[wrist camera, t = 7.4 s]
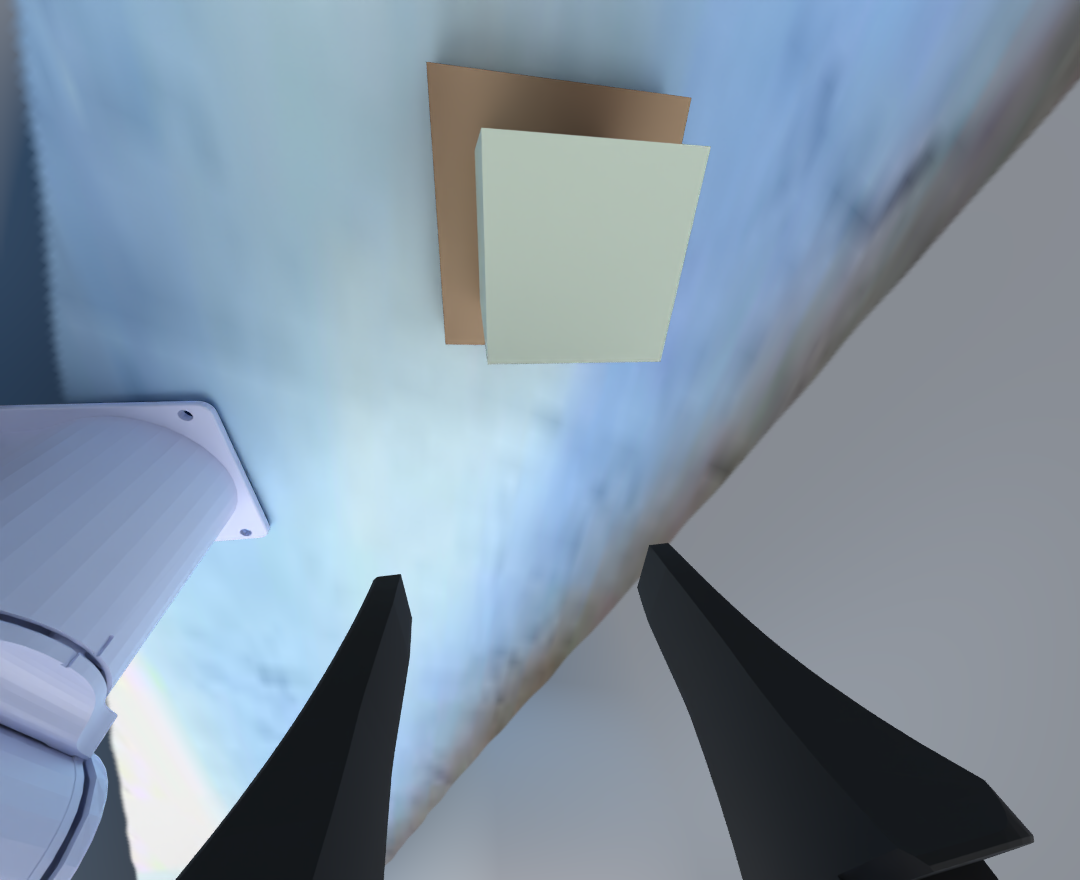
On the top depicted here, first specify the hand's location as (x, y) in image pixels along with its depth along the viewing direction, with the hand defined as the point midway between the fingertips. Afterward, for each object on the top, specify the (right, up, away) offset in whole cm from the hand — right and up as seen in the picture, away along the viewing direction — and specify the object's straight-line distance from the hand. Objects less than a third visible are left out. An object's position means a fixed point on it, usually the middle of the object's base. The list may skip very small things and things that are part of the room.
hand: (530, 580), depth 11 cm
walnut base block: (0, +13, +4) cm, 13 cm away
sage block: (0, +11, +2) cm, 11 cm away
